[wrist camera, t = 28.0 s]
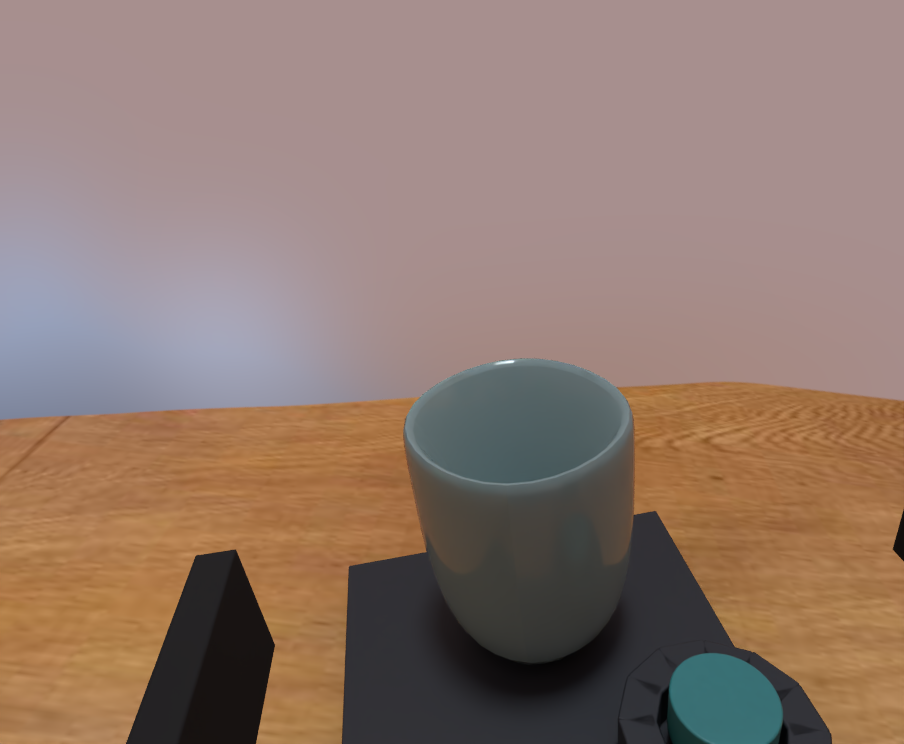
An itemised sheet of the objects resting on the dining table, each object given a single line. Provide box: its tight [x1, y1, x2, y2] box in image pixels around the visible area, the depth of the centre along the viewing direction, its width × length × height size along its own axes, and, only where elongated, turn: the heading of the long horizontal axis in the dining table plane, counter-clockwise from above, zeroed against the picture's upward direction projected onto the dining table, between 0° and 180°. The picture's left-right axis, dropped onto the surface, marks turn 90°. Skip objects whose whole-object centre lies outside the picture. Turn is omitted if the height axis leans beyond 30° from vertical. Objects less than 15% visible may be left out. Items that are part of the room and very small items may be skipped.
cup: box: [403, 358, 635, 665], centre depth 25 cm, size 8×8×10 cm
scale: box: [342, 511, 832, 744], centre depth 25 cm, size 16×14×4 cm
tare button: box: [667, 653, 783, 744], centre depth 20 cm, size 3×3×2 cm
